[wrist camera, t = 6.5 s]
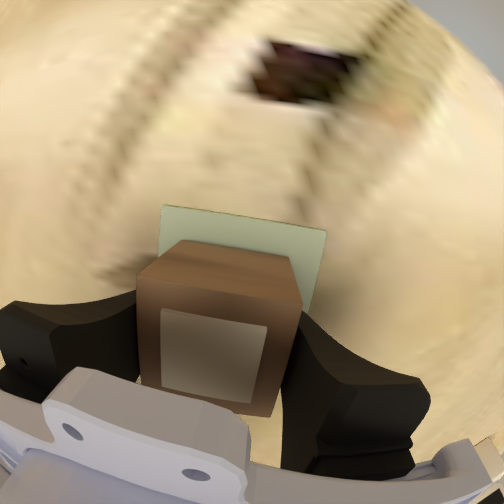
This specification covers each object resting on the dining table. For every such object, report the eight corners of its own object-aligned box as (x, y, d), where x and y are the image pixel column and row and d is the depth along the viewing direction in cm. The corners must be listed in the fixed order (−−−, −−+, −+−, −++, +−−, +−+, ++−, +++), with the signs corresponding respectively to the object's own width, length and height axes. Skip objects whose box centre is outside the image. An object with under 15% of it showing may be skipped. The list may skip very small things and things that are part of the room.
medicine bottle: (438, 480, 21) (459, 535, 9) (447, 461, 19) (474, 525, 8) (477, 457, 20) (502, 507, 8) (489, 435, 18) (521, 491, 7)
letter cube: (272, 348, 14) (275, 421, 9) (175, 331, 14) (140, 396, 9) (292, 257, 13) (310, 308, 8) (181, 239, 13) (133, 277, 8)
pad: (291, 364, 15) (292, 368, 15) (158, 340, 15) (156, 344, 15) (325, 230, 13) (327, 232, 13) (164, 204, 13) (161, 205, 13)
